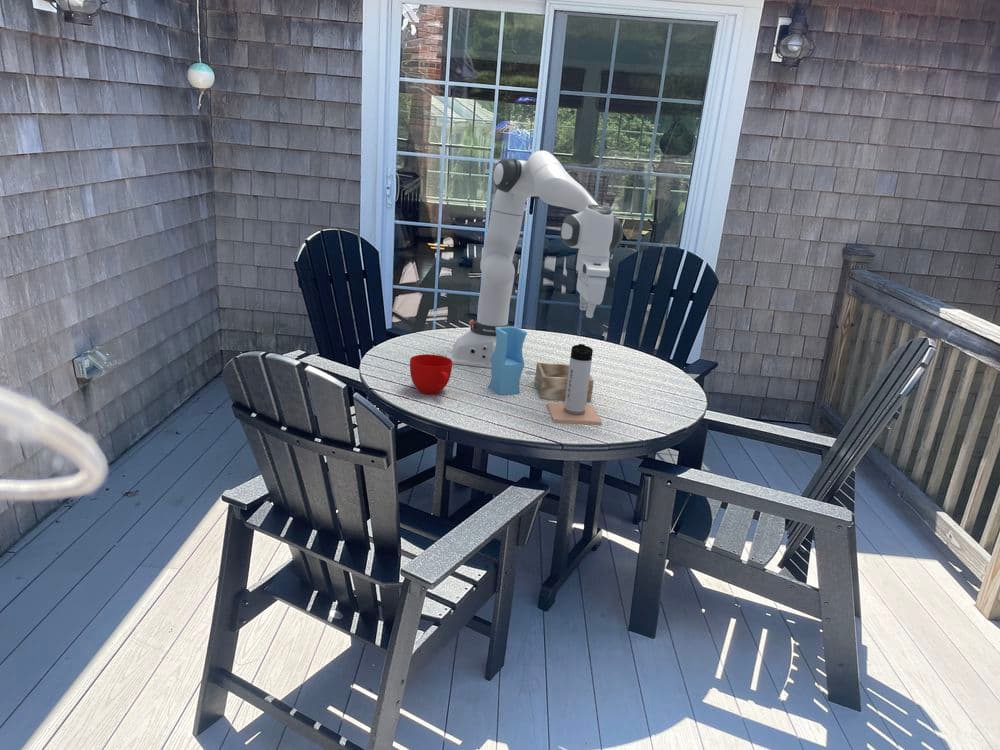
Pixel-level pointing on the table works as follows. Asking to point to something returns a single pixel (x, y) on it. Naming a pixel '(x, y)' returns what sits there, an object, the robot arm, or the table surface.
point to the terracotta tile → (563, 417)
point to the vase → (507, 360)
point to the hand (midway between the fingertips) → (585, 313)
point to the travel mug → (578, 379)
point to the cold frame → (555, 381)
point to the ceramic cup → (430, 372)
